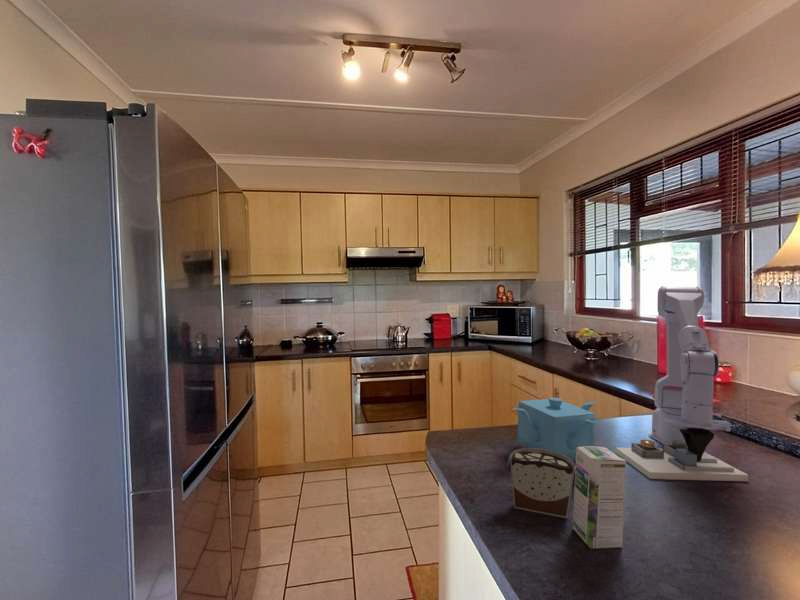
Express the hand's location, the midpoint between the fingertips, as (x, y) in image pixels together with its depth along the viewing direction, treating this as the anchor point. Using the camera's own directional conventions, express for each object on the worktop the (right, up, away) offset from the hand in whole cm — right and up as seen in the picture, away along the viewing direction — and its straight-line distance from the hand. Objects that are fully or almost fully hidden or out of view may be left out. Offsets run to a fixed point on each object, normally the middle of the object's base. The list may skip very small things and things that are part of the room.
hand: (695, 459), depth 91 cm
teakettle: (-30, -2, +6) cm, 31 cm away
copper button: (-7, 0, +7) cm, 10 cm away
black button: (+1, 0, +7) cm, 7 cm away
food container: (-42, -2, -16) cm, 45 cm away
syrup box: (-36, -3, -26) cm, 45 cm away
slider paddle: (-2, -1, 0) cm, 2 cm away
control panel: (-2, -3, +3) cm, 5 cm away
